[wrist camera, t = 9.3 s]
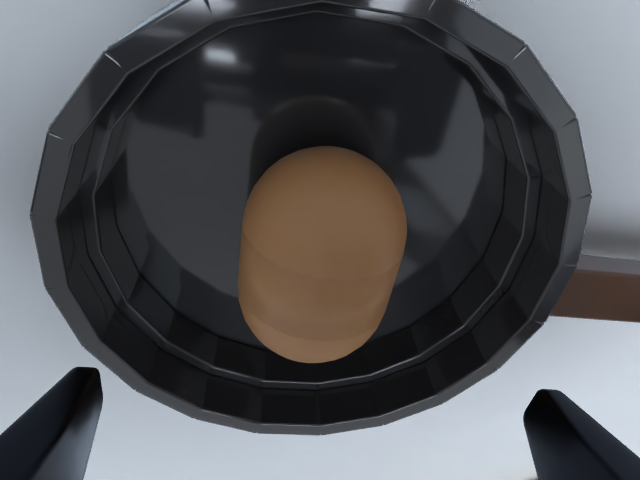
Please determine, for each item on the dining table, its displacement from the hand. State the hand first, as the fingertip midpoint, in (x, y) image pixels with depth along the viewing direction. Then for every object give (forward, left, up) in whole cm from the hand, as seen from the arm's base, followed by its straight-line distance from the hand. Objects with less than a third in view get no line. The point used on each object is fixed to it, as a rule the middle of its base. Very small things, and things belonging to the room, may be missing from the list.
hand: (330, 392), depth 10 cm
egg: (0, 0, -7) cm, 7 cm away
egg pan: (0, 0, -7) cm, 7 cm away
